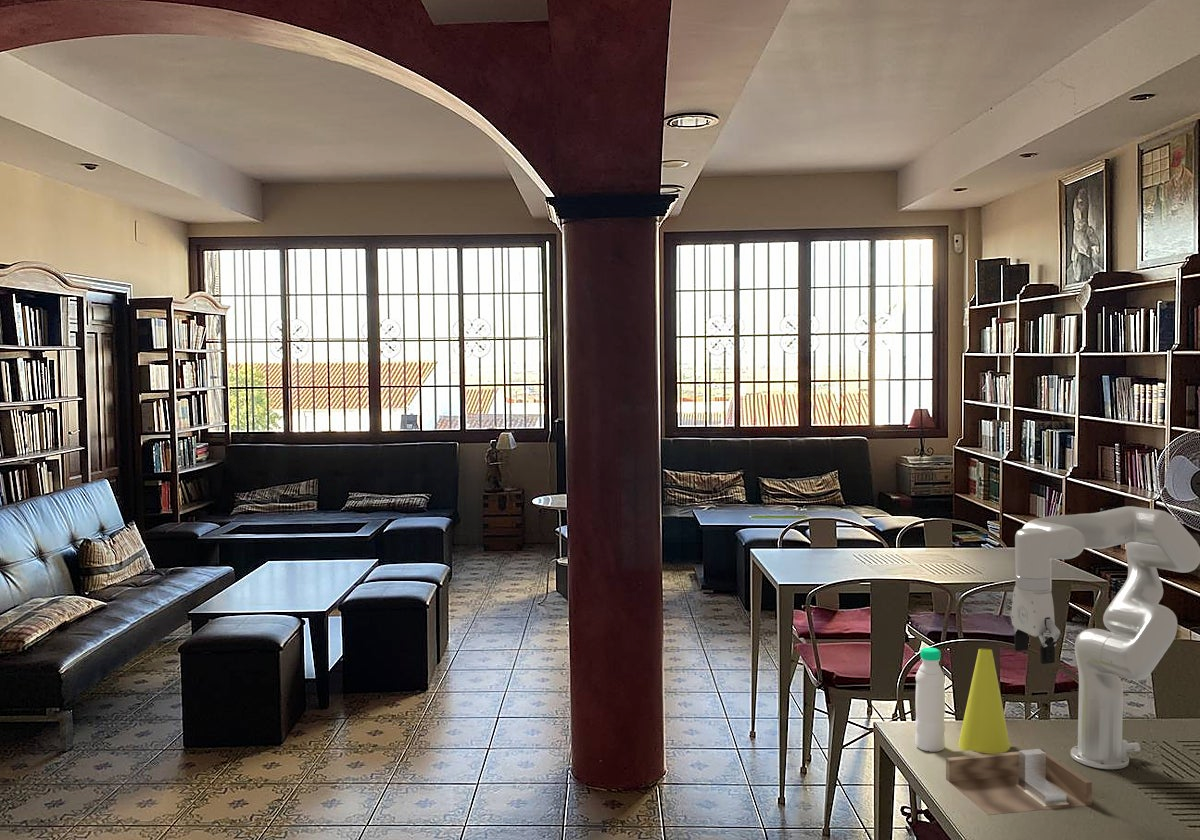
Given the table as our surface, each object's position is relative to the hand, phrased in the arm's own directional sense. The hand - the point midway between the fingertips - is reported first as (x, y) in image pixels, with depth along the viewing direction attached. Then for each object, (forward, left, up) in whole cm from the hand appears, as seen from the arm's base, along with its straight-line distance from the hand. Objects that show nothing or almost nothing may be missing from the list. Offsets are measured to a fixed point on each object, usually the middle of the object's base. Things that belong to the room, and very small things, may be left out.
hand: (1034, 656), depth 228 cm
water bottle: (+14, -22, -29) cm, 39 cm away
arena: (+9, +7, -29) cm, 31 cm away
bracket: (+4, +10, -28) cm, 30 cm away
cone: (+1, -19, -29) cm, 35 cm away
